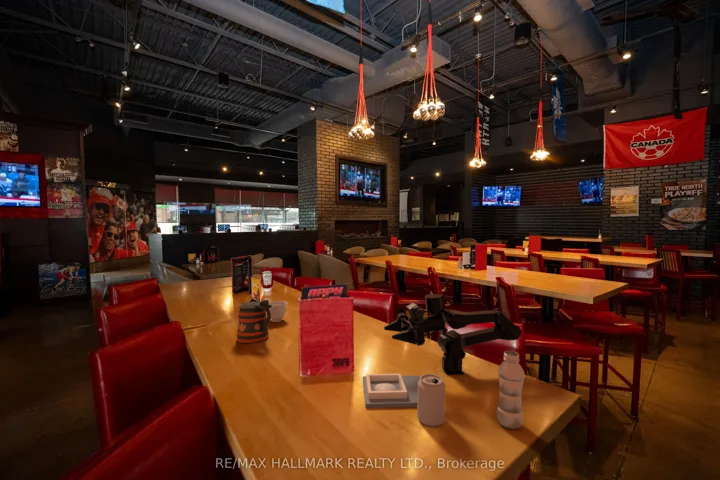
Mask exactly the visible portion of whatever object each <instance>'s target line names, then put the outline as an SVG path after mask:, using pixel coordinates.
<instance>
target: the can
mask: <svg viewBox="0 0 720 480" xmlns="http://www.w3.org/2000/svg"><path fill="white" fill-rule="evenodd" d="M419 377H420V380H419V381H418V398H417V407H416V408H417V413H416V414H417V415H416V416H417V419H418V420H419V421H420V422H421V423H422V424H423V425H425V426H427V427H439V426H440V425H442V424H443V423H444V422H445V418H446V417H445V415H446V414H445V413H446V410H445V409H446V408H445V407H446V384H445V383H444V382H443V381H444V380H443V378H442V377H441V376H440V375H437V374H433V373H425V374H422V375H421V376H419Z"/></svg>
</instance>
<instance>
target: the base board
mask: <svg viewBox="0 0 720 480" xmlns="http://www.w3.org/2000/svg"><path fill="white" fill-rule="evenodd" d="M420 377H421V376H420V375H418V374H417V375H402V373H366V374H365V375H363V376H362V385H363V395H364V396H363V397H364V405H365V406H364V407H365V409H370V408H371V409H372V408H373V409H374V408H375V409H376V408H378V409H379V408H409V407H410V408H412V407H413V408H414V407H415V408H417V398H418V381H419V380H420Z"/></svg>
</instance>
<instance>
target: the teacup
mask: <svg viewBox="0 0 720 480" xmlns="http://www.w3.org/2000/svg"><path fill="white" fill-rule="evenodd" d="M269 305H272V308H269V310H270V313H271V319H270V320H271V322H273V323H280V322H282V321H283V318H284V317H285V315H286V309H287V305H288V302H287V301H285V300H274V301H273V300H271V301H269Z"/></svg>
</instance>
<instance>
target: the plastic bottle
mask: <svg viewBox="0 0 720 480" xmlns="http://www.w3.org/2000/svg"><path fill="white" fill-rule="evenodd" d="M503 360H504V361H502V363H501V364H500V365H499V366H498V369H497V374H498V382H499V383H498V384H499V396H498V403H497V404H498V405H497V408H496V414H495V415H496V419H497V421H498V422H499V424H500V425H501V426H502V427H504V428H506V429H509V430H511V429H512V430H516V429H517V430H518V429H520V428H521V427H522V426H523V421H524V414H523V408H522V394H523V387H524V383H525V382H524V381H525V375H526V374H525V371H524V369H523V368H522V366H521V365H520V354H519V353H518V352H516V351H512V350H506V351H504V352H503Z"/></svg>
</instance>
